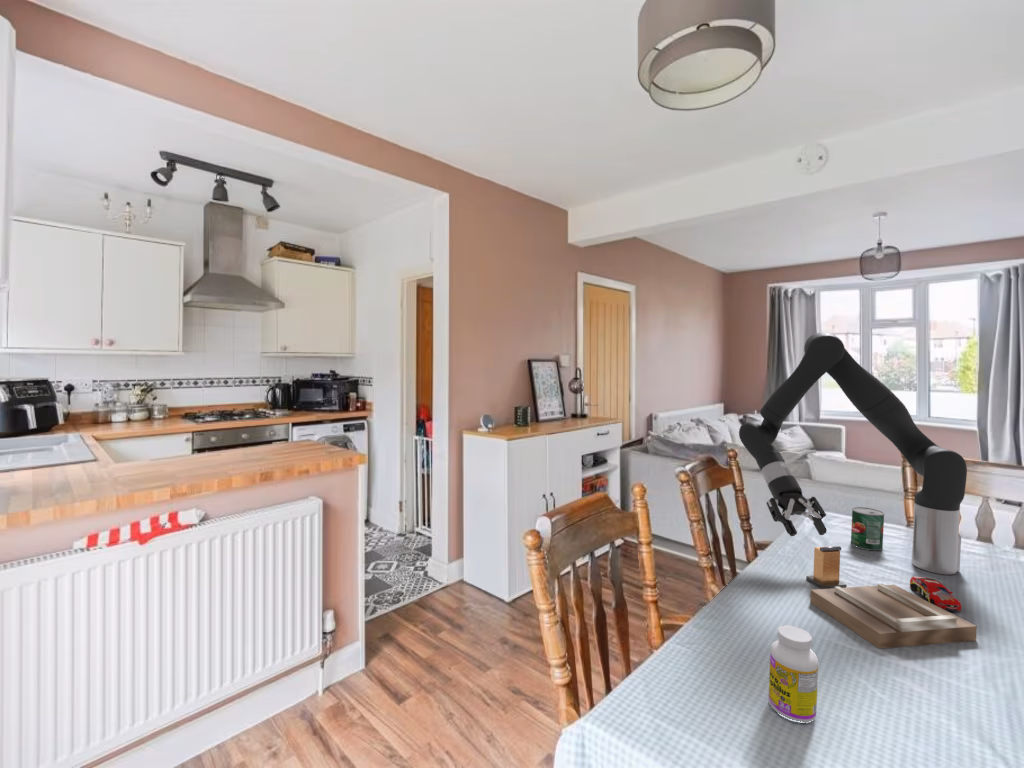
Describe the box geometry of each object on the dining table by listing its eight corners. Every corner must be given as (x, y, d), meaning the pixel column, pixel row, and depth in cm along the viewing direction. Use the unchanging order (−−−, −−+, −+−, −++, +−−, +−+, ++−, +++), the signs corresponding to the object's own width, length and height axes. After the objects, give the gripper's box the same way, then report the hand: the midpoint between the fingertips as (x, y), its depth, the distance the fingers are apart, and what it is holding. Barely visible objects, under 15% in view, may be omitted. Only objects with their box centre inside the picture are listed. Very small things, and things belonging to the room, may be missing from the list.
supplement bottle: (759, 696, 79) (761, 622, 79) (796, 694, 80) (799, 620, 79) (786, 727, 73) (788, 646, 72) (826, 725, 73) (829, 644, 73)
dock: (893, 596, 113) (894, 576, 113) (976, 640, 96) (977, 616, 95) (810, 602, 111) (811, 581, 110) (879, 648, 93) (880, 623, 93)
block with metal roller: (828, 578, 123) (830, 540, 123) (846, 588, 118) (847, 549, 117) (806, 579, 122) (807, 541, 122) (823, 590, 117) (824, 550, 116)
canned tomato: (844, 542, 148) (845, 507, 147) (864, 540, 150) (865, 506, 149) (868, 552, 140) (870, 515, 140) (889, 550, 142) (891, 513, 141)
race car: (966, 616, 105) (967, 598, 105) (936, 612, 107) (937, 595, 107) (932, 588, 118) (933, 573, 118) (906, 585, 120) (907, 570, 119)
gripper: (764, 474, 133) (791, 529, 122) (810, 473, 135) (841, 527, 124) (751, 488, 138) (777, 541, 127) (796, 487, 140) (825, 539, 129)
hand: (808, 534), depth 126 cm, fingers open, 8 cm apart
